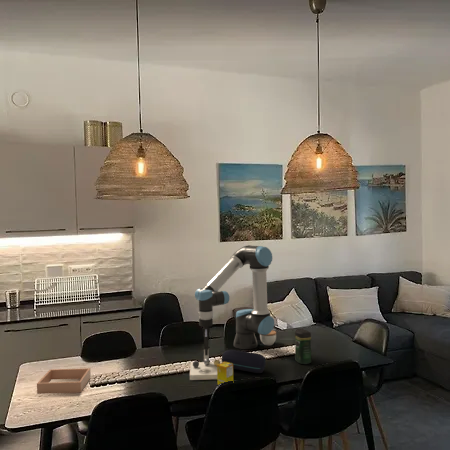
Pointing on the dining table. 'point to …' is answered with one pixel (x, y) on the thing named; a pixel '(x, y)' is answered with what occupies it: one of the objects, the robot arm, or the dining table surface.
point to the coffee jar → (303, 346)
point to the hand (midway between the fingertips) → (206, 360)
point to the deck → (203, 371)
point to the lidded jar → (268, 338)
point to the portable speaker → (245, 360)
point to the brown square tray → (63, 387)
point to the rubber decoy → (195, 363)
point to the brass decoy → (216, 362)
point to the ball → (206, 361)
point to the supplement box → (224, 372)
